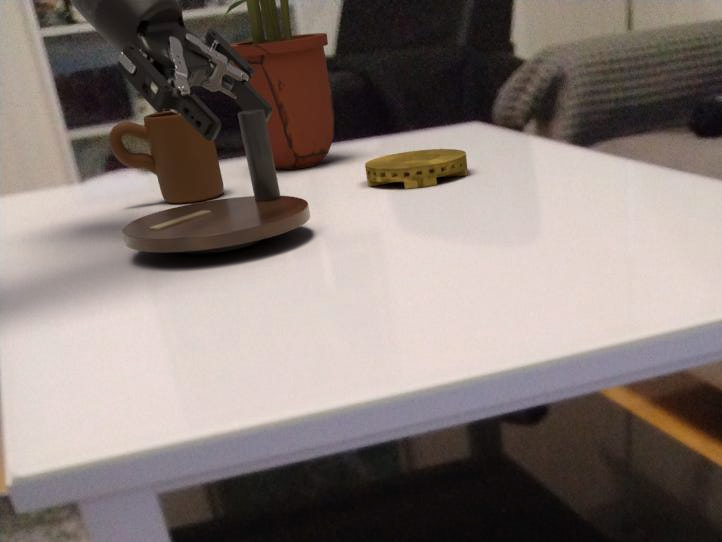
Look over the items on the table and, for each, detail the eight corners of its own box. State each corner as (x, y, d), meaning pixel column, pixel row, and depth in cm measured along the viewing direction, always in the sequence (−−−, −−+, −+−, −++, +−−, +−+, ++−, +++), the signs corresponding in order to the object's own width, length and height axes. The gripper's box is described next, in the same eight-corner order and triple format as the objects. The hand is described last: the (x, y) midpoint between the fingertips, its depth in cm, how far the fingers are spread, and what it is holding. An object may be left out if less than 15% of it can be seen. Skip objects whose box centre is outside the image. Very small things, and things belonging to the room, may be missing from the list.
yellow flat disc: (415, 166, 129) (413, 147, 127) (488, 170, 122) (486, 150, 121) (347, 186, 121) (344, 166, 120) (420, 191, 115) (417, 170, 113)
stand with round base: (103, 275, 94) (66, 149, 88) (161, 231, 109) (133, 121, 103) (294, 258, 92) (269, 129, 87) (326, 215, 107) (307, 102, 101)
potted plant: (262, 161, 145) (201, -148, 126) (369, 150, 144) (325, -163, 124) (232, 185, 131) (158, -160, 111) (351, 173, 129) (298, -178, 110)
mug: (127, 213, 121) (103, 125, 116) (126, 203, 127) (103, 119, 122) (228, 197, 123) (209, 110, 118) (222, 188, 129) (204, 105, 124)
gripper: (81, -31, 92) (213, 106, 93) (182, -40, 102) (299, 83, 104) (57, 41, 97) (183, 169, 98) (155, 26, 107) (268, 142, 109)
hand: (242, 125), depth 101 cm, fingers open, 8 cm apart
